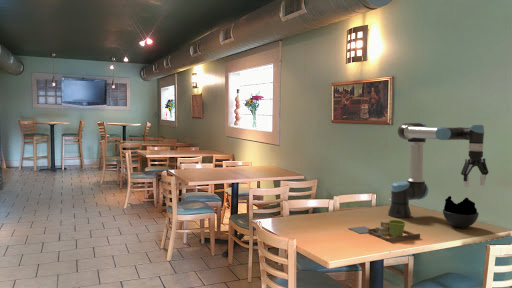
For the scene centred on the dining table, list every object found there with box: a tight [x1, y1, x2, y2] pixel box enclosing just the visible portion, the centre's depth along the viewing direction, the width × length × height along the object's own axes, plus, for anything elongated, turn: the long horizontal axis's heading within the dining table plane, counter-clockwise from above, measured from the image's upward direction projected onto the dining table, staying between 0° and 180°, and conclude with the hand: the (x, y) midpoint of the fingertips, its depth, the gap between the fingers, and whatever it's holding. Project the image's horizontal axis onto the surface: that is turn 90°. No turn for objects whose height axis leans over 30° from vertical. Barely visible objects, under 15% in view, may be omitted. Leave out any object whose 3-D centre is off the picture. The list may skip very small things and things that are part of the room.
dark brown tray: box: [367, 227, 421, 243], centre depth 234 cm, size 19×21×2 cm
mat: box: [348, 225, 371, 235], centre depth 245 cm, size 12×12×1 cm
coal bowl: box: [442, 195, 480, 229], centre depth 253 cm, size 20×20×19 cm
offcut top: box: [380, 220, 390, 228], centre depth 239 cm, size 4×5×3 cm
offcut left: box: [375, 225, 389, 236], centre depth 238 cm, size 4×6×4 cm, turn 112°
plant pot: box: [388, 219, 407, 237], centre depth 232 cm, size 9×9×9 cm
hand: (474, 186), depth 242 cm, fingers open, 13 cm apart
